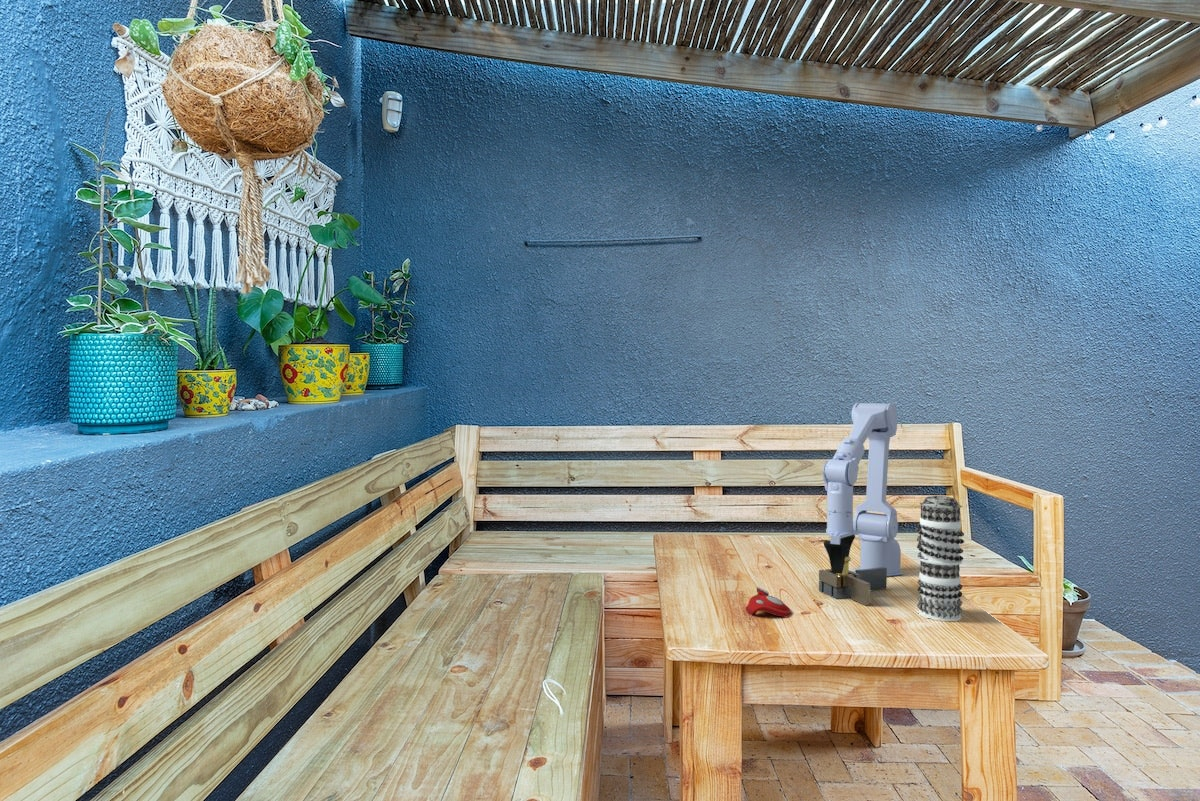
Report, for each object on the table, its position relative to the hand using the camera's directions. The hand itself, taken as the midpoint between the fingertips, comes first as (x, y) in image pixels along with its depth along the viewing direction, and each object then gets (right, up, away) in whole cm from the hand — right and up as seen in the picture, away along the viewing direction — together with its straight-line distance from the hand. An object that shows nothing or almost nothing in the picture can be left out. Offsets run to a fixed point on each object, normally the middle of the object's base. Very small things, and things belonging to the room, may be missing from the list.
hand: (839, 569), depth 168 cm
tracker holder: (-19, -7, -11) cm, 23 cm away
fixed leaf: (+5, -6, +2) cm, 8 cm away
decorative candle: (+16, -6, -16) cm, 23 cm away
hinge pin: (0, -6, 0) cm, 6 cm away
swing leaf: (+1, -6, -3) cm, 7 cm away
